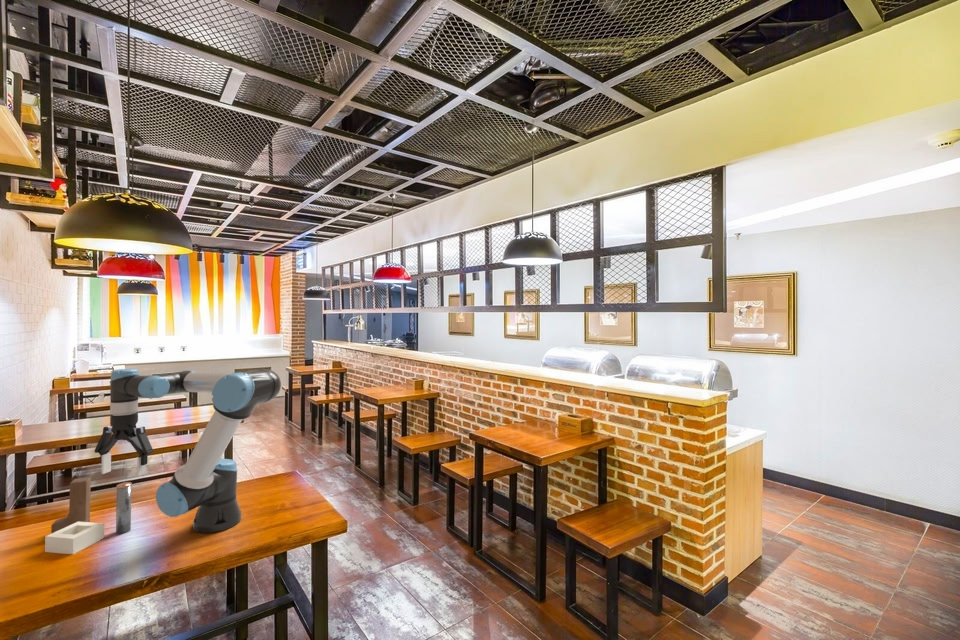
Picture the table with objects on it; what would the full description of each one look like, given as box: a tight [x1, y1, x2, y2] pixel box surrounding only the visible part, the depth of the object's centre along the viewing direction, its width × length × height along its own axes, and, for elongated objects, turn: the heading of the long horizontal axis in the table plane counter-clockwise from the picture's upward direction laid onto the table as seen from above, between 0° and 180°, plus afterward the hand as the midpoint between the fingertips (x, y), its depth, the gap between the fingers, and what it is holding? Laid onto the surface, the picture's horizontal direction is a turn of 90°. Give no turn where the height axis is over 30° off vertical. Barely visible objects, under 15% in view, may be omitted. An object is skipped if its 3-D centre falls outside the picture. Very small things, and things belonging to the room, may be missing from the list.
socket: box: [44, 521, 105, 555], centre depth 139 cm, size 10×10×5 cm
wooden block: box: [50, 476, 92, 534], centre depth 147 cm, size 9×4×18 cm, turn 118°
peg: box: [115, 481, 133, 535], centre depth 148 cm, size 4×4×17 cm
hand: (123, 473), depth 148 cm, fingers open, 13 cm apart
